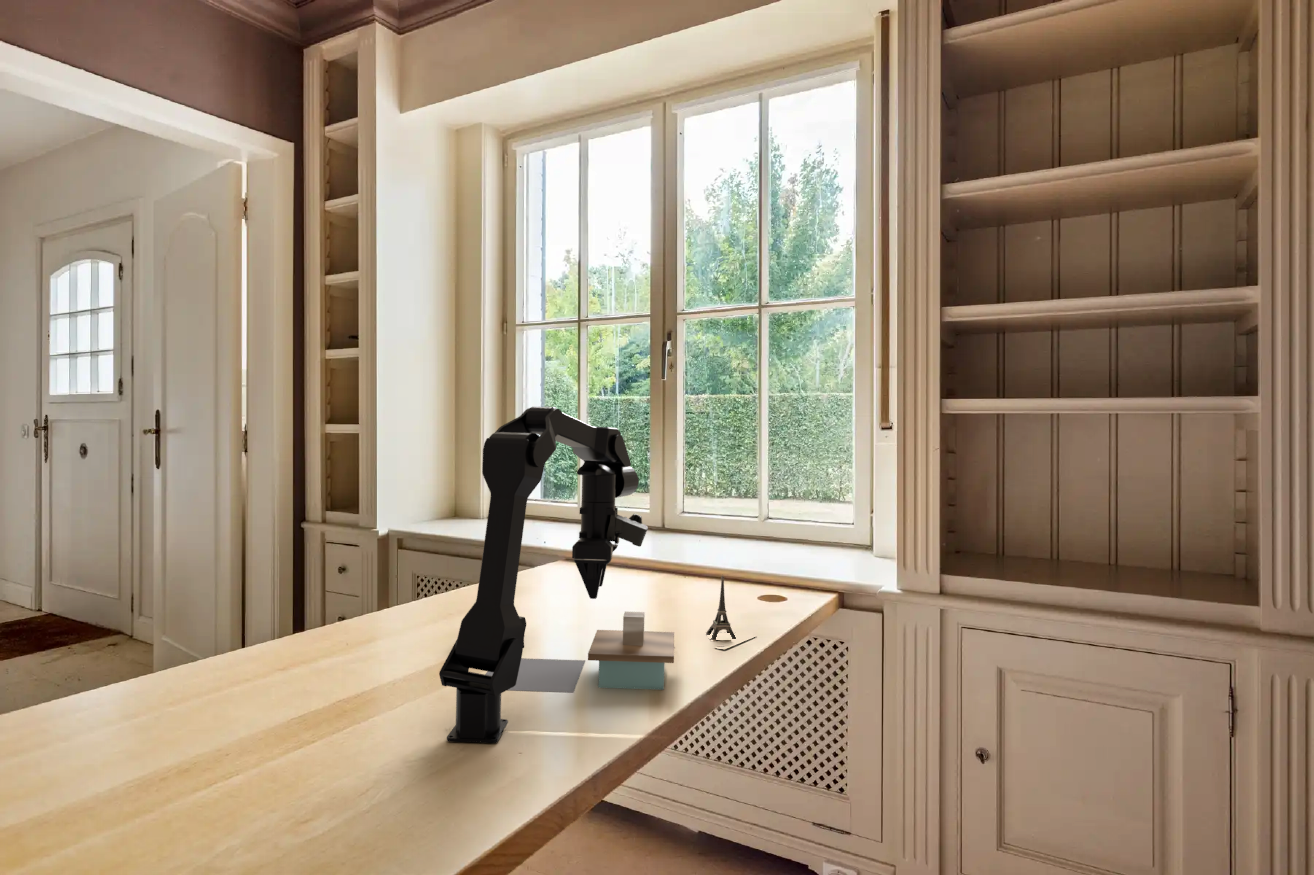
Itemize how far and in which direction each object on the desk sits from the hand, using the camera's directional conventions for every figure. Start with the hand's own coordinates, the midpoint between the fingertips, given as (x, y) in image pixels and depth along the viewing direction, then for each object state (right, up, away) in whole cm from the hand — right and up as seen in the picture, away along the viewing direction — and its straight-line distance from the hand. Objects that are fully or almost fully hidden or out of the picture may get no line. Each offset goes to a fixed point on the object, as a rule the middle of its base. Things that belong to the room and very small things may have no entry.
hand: (596, 592), depth 126 cm
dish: (+6, -12, -8) cm, 16 cm away
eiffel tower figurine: (+23, -13, +17) cm, 31 cm away
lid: (+7, -7, -8) cm, 13 cm away
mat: (-9, -12, -8) cm, 17 cm away
